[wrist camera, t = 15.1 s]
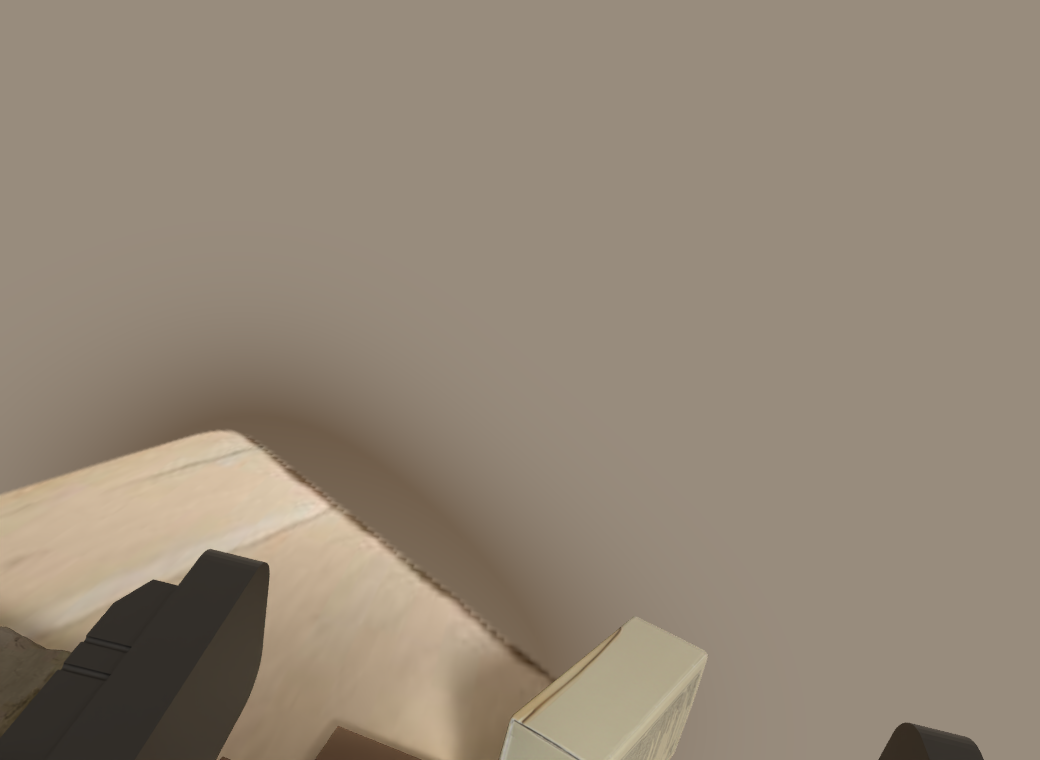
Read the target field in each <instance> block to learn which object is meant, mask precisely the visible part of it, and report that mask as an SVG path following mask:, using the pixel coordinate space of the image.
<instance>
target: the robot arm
mask: <svg viewBox="0 0 1040 760" xmlns="http://www.w3.org/2000/svg"><path fill="white" fill-rule="evenodd" d="M268 586H269V565H268V564H267V563H265V562H261V561H257V560H253V559H249V558H245V557H241V556H237V555H233V554H229V553H225V552H221V551H216V550H212V549H209V550H207V551H205V552H204V553H203V554H202V555H201V556H200V558H199V559H198V560H197V562H196V563H195V564H194V566H193V567H192V568H191V569H190V571H189V572H188V573H187V575H186V576H185V577H184V579H183V580H182V581H181V583H180V584H179V585H178V586H177V585H173V584H169V583H165V582H161V581H157V580H152V581H150V582H148V583H147V584H145V585H143V586H141V587H140V588H138V589H136V590H135V591H133V592H131V593H130V594H128V595H126V596H125V597H123V598H121V599H120V600H118V601H116V602H115V603H113V604H112V606H111V607H110V608H109V609H108V610H107V612H106V613H105V614H104V615H103V616H102V617H101V619H100V620H99V621H98V622H97V623H96V625H95V626H94V627H93V628H92V629H91V631H90V632H89V633H88V634H87V635H86V639H85V641H84V642H80V644H79V645H78V646H77V647H76V648H75V650H74V651H73V652H72V653H71V654H70V655H69V657H68V658H67V659H66V660H65V661H64V664H63V667H62V669H61V670H57V671H56V672H55V673H54V674H53V676H52V677H51V678H50V679H49V680H48V682H47V683H46V684H45V685H44V686H43V688H42V689H41V690H40V691H39V692H38V694H37V695H36V696H35V697H34V698H33V699H32V701H31V702H30V703H29V704H28V705H27V707H26V708H25V709H24V710H23V711H22V713H21V714H20V715H19V716H18V717H17V718H16V720H15V721H14V722H13V723H12V724H11V726H10V727H9V728H8V729H7V730H6V732H5V733H4V734H3V735H2V736H1V737H0V760H216V758H217V757H218V755H219V753H220V751H221V749H222V747H223V745H224V744H225V742H226V740H227V738H228V736H229V734H230V732H231V731H232V729H233V727H234V725H235V723H236V721H237V719H238V718H239V716H240V714H241V712H242V710H243V708H244V706H245V704H246V702H247V700H248V698H249V696H250V693H251V691H252V688H253V686H254V683H255V680H256V677H257V673H258V670H259V666H260V661H261V656H262V648H263V637H264V627H265V617H266V606H267V596H268ZM879 760H984V759H983V757H982V755H981V752H980V750H979V749H978V747H977V745H976V744H975V743H974V742H973V741H972V740H971V739H970V738H967V737H965V736H960V735H956V734H952V733H948V732H944V731H940V730H936V729H932V728H928V727H924V726H920V725H915V724H911V723H902V724H901V725H899V726H898V727H897V728H896V729H895V731H894V733H893V734H892V736H891V738H890V740H889V741H888V743H887V745H886V747H885V749H884V751H883V752H882V754H881V756H880V758H879Z"/></svg>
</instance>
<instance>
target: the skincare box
mask: <svg viewBox="0 0 1040 760" xmlns="http://www.w3.org/2000/svg"><path fill="white" fill-rule="evenodd" d="M707 657H708V656H707V653H706V652H705V651H704V650H702V649H700V648H698V647H696V646H694V645H692V644H690V643H688V642H686V641H684V640H683V639H680V638H679V637H676V636H674V635H672V634H670V633H669V632H666V631H664V630H662V629H660V628H658V627H656V626H654V625H652V624H650V623H648V622H646V621H644V620H642V619H640V618H638V617H632V618H631V619H630V620H629V621H628V622H626V623H625V624H624V625H623V626H622V627H620V628H619V629H618V630H617V631H616V632H614V633H613V634H612V635H611V636H609V637H608V638H607V639H606V640H604V641H603V642H602V643H601V644H599V645H598V646H597V647H596V648H594V649H593V650H592V651H591V652H590V653H588V654H587V655H586V656H585V657H584V658H582V659H581V660H580V661H579V662H577V663H576V664H575V665H574V666H572V667H571V668H570V669H569V670H568V671H566V672H565V673H564V674H563V675H561V676H560V677H559V678H558V679H557V680H555V681H554V682H553V683H552V684H550V685H549V686H548V687H547V688H546V689H544V690H543V691H542V692H541V693H540V694H538V695H537V696H536V697H535V698H533V699H532V700H531V701H530V702H529V703H527V704H526V705H525V706H524V707H523V708H521V709H520V710H519V711H518V712H516V713H515V714H514V715H513V716H512V717H511V719H510V722H509V726H508V729H507V733H506V736H505V740H504V743H503V747H502V750H501V754H500V757H499V760H669V759H670V758H671V757H672V755H673V754H674V752H675V750H676V747H677V744H678V742H679V739H680V737H681V734H682V731H683V729H684V726H685V723H686V721H687V718H688V715H689V712H690V710H691V707H692V704H693V701H694V698H695V695H696V692H697V689H698V686H699V683H700V680H701V676H702V674H703V670H704V667H705V664H706V661H707Z"/></svg>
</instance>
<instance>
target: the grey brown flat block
mask: <svg viewBox="0 0 1040 760" xmlns="http://www.w3.org/2000/svg"><path fill="white" fill-rule="evenodd" d="M70 654H71V652H69V651H63V650H50V649H46V648H44V647H42V646H40V645H38V644H36V643H34V642H33V641H31V640H30V639H28V638H26V637H24V636H21V635H20V634H18V633H16V632H14V631H13V630H12V629H10V628H7V627H0V737H1V736H2V735H3V734H4V733H5V732H6V730H7V729H8V728H9V727H10V726H11V724H12V723H13V722H14V721H15V720H16V718H17V717H18V716H19V715H20V714H21V713H22V711H23V710H24V709H25V708H26V707H27V705H28V704H29V703H30V702H31V701H32V699H33V698H34V697H35V696H36V695H37V694H38V692H39V691H40V690H41V689H42V688H43V686H44V685H45V684H46V683H47V682H48V680H49V679H50V678H51V677H52V676H53V674H54V673H55V672H56V671H57V670H61V669H62V667H63V664H64V661H65V660H66V659H67V658H68V657H69V655H70Z"/></svg>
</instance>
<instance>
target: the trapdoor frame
mask: <svg viewBox="0 0 1040 760" xmlns="http://www.w3.org/2000/svg"><path fill="white" fill-rule="evenodd" d="M220 760H230V759H228V758H225V757H222V758H221V759H220ZM315 760H421V759H418V758H416V757H413V756H411V755H408V754H406V753H404V752H401V751H399V750H396V749H394V748H391V747H389V746H386V745H384V744H381V743H379V742H376V741H374V740H372V739H369V738H367V737H364V736H362V735H359V734H357V733H354V732H352V731H349V730H347V729H344V728H342V727H340V726H338V727H337V728H336V730H335V731H334V733H333V734H332V735H331V737H330V738H329V740H328V741H327V743H326V744H325V746H324V747H323V749H322V750H321V752H320V753H319V755H318V756H317V757H316V759H315Z"/></svg>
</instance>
